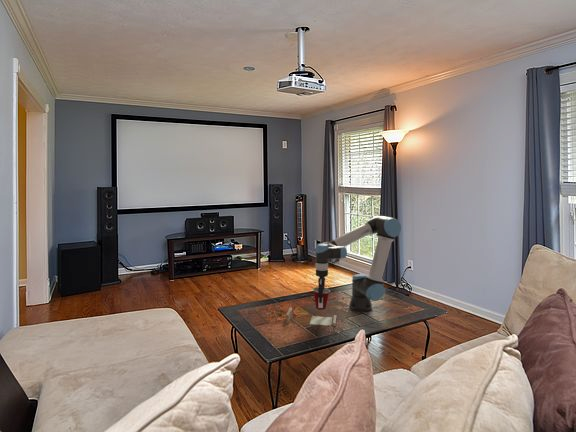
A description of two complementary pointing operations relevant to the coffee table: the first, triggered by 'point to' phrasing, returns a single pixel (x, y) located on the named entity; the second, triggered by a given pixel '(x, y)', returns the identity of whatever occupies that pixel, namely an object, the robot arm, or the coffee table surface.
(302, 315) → the coffee table surface
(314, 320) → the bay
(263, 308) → the coffee table surface
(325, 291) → the plastic cup
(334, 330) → the coffee table surface
